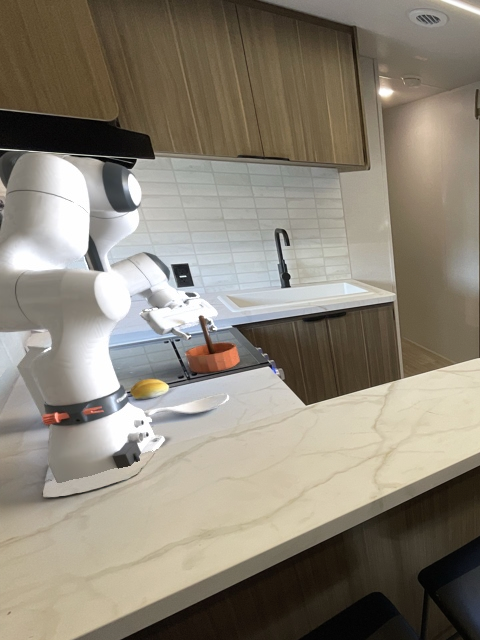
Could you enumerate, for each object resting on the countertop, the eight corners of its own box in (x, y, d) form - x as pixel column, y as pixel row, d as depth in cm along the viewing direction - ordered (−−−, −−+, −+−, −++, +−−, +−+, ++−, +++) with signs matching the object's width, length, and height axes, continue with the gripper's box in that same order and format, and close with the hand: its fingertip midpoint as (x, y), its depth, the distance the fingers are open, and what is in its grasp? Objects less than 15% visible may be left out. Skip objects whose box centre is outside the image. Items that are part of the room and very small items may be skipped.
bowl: (240, 368, 134) (235, 351, 132) (188, 377, 127) (182, 359, 125) (240, 356, 145) (236, 340, 143) (192, 363, 138) (187, 346, 136)
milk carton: (66, 425, 99) (31, 352, 92) (44, 422, 100) (8, 350, 93) (98, 411, 106) (67, 343, 98) (77, 409, 107) (45, 341, 100)
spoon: (69, 436, 94) (62, 423, 93) (228, 397, 113) (224, 386, 111) (63, 453, 88) (56, 439, 86) (233, 409, 106) (229, 397, 105)
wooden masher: (224, 365, 135) (210, 316, 128) (204, 368, 132) (189, 318, 126) (225, 360, 139) (211, 312, 133) (206, 363, 137) (191, 314, 130)
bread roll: (137, 403, 110) (132, 390, 108) (129, 394, 115) (124, 381, 114) (174, 393, 116) (169, 380, 114) (165, 385, 121) (160, 373, 120)
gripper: (139, 304, 120) (174, 337, 122) (201, 291, 139) (231, 320, 140) (133, 318, 123) (168, 350, 125) (194, 303, 141) (224, 332, 143)
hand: (202, 334), depth 133 cm, fingers open, 8 cm apart
